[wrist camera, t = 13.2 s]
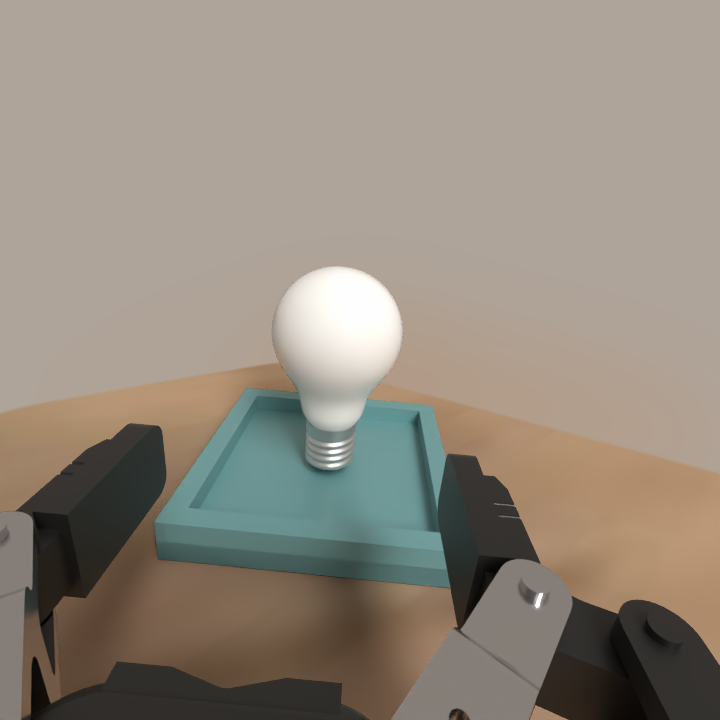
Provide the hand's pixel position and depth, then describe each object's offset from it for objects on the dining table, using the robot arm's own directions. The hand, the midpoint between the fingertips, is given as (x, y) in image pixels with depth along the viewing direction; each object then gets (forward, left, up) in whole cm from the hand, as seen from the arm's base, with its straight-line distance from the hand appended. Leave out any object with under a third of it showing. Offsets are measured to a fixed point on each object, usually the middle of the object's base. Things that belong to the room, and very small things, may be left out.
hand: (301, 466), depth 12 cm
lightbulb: (0, +10, -7) cm, 12 cm away
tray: (0, +10, -8) cm, 13 cm away
